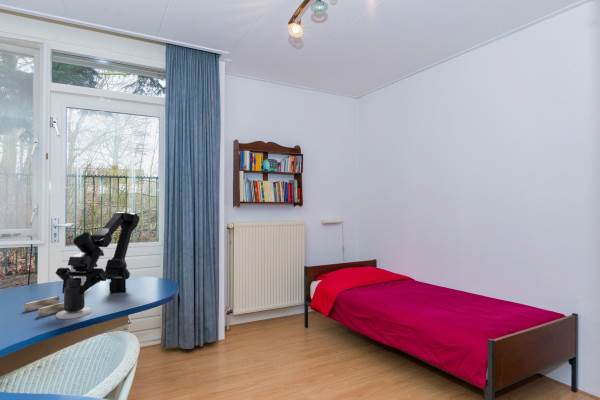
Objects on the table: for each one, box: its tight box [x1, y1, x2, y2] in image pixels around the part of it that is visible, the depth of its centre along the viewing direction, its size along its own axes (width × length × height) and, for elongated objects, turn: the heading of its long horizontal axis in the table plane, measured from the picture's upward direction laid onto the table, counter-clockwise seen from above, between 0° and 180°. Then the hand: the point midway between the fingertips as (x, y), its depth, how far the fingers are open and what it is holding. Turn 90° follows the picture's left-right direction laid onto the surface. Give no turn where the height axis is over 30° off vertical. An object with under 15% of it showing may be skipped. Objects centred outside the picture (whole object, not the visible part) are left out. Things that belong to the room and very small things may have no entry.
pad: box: [55, 306, 93, 320], centre depth 139 cm, size 12×12×1 cm
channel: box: [24, 295, 64, 318], centre depth 143 cm, size 12×12×3 cm
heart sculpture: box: [69, 251, 93, 294], centre depth 170 cm, size 16×5×18 cm, turn 10°
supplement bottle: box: [63, 277, 86, 312], centre depth 139 cm, size 7×7×12 cm
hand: (71, 293), depth 137 cm, fingers closed on supplement bottle, 7 cm apart
